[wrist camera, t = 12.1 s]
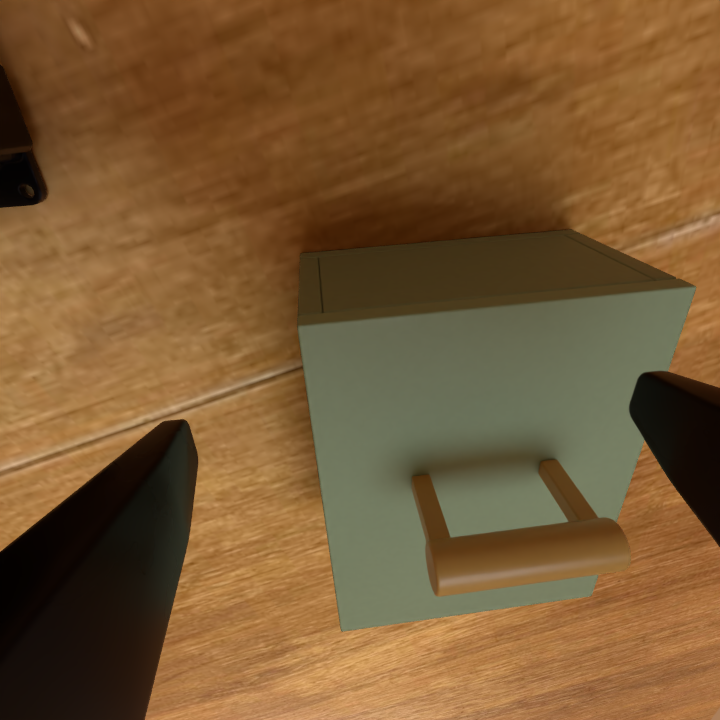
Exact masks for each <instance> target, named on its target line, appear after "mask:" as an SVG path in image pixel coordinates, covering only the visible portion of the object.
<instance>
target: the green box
mask: <svg viewBox="0 0 720 720" xmlns="http://www.w3.org/2000/svg"><path fill="white" fill-rule="evenodd" d="M670 279H676V277H674V276H672V275H670V274H667V273H665V272H663V271H661V270H659V269H657V268H654V267H652V266H650V265H648V264H646V263H643V262H641V261H639V260H637V259H635V258H633V257H630V256H628V255H626V254H624V253H622V252H619V251H617V250H615V249H613V248H611V247H609V246H606V245H604V244H602V243H600V242H598V241H595V240H593V239H591V238H589V237H587V236H584V235H582V234H580V233H578V232H576V231H574V230H572V229H569V230H558V231H547V232H536V233H524V234H513V235H502V236H490V237H479V238H468V239H457V240H445V241H434V242H423V243H412V244H400V245H389V246H378V247H366V248H355V249H344V250H333V251H321V252H310V253H301V254H300V269H299V294H298V316H301V315H311V314H321V313H331V312H342V311H352V310H362V309H372V308H383V307H393V306H403V305H413V304H424V303H434V302H444V301H455V300H465V299H475V298H485V297H496V296H506V295H516V294H526V293H537V292H547V291H557V290H567V289H578V288H588V287H598V286H608V285H619V284H629V283H639V282H650V281H660V280H670Z"/></svg>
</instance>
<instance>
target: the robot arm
mask: <svg viewBox="0 0 720 720" xmlns="http://www.w3.org/2000/svg"><path fill="white" fill-rule="evenodd" d="M32 144H33V143H32V140H31V138H30V135H29V132H28V130H27V127H26V125H25V122H24V120H23V117H22V114H21V112H20V109H19V107H18V104H17V101H16V99H15V96H14V94H13V91H12V88H11V86H10V83H9V81H8V78H7V75H6V73H5V70H4V68H3V67H2V66H1V65H0V208H2V207H14V206H27V205H34V204H38V203H40V202H43V201H44V200H45V199H46V196H47V192H46V188H45V185H44V183H43V180H42V177H41V175H40V172H39V170H38V167H37V165H36V162H35V160H34V157H33V154H32V152H31V147H32ZM26 185H29V186H30V187H32V189H33V190H34V194H35V195H34V196H31V195H29V194H28V193H27V192H26V189H25V186H26ZM629 413H630V416H631V418H632V420H633V422H634V423H635V425H636V426H637V428H638V430H639V431H640V433H641V435H642V436H643V438H644V440H645V441H646V443H647V444H648V446H649V448H650V449H651V451H652V453H653V454H654V456H655V458H656V459H657V461H658V462H659V464H660V466H661V467H662V469H663V471H664V472H665V474H666V475H667V477H668V478H669V480H670V481H671V483H672V484H673V485H674V487H675V488H676V490H677V491H678V492H679V494H680V495H681V496H682V498H683V499H684V500H685V502H686V503H687V504H688V506H689V507H690V508H691V510H692V511H693V512H694V513H695V515H696V516H697V517H698V519H699V520H700V521H701V523H702V524H703V525H704V527H705V528H706V529H707V531H708V532H709V533H710V535H711V536H712V537H713V539H714V540H715V541H716V543H717V544H718V545H719V547H720V388H718V387H715V386H712V385H709V384H705V383H702V382H699V381H696V380H693V379H690V378H686V377H683V376H680V375H677V374H674V373H670V372H667V371H661V370H660V371H651V372H644V373H642V374H641V375H640V376H639V377H638V379H637V382H636V385H635V388H634V391H633V394H632V397H631V400H630V404H629ZM197 469H198V454H197V450H196V447H195V443H194V440H193V436H192V433H191V430H190V426H189V424H188V422H187V421H186V420H184V419H180V420H170V421H164V422H162V423H160V424H159V425H158V426H156V427H155V428H154V429H153V430H151V431H150V432H149V433H148V434H146V435H145V436H144V437H143V438H141V439H140V440H139V441H138V442H137V443H135V444H134V445H133V446H132V447H130V448H129V449H128V450H127V451H125V452H124V453H123V454H122V455H120V456H119V457H118V458H117V459H115V460H114V461H113V462H112V463H110V464H109V465H108V466H107V467H105V468H104V469H103V470H102V471H100V472H99V473H98V474H97V475H95V476H94V477H93V478H92V479H90V480H89V481H88V482H87V483H85V484H84V485H83V486H82V487H80V488H79V489H78V490H77V491H75V492H74V493H73V494H72V495H70V496H69V497H68V498H67V499H65V500H64V501H63V502H62V503H61V504H59V505H58V506H57V507H56V508H54V509H53V510H52V511H51V512H49V513H48V514H47V515H46V516H44V517H43V518H42V519H41V520H39V521H38V522H37V523H36V524H34V525H33V526H32V527H31V528H29V529H28V530H27V531H26V532H24V533H23V534H22V535H21V536H19V537H18V538H17V539H16V540H14V541H13V542H12V543H11V544H9V545H8V546H7V547H6V548H4V549H3V550H2V551H1V552H0V720H145V716H146V712H147V708H148V704H149V700H150V696H151V692H152V688H153V684H154V680H155V676H156V671H157V667H158V663H159V659H160V655H161V651H162V647H163V643H164V639H165V635H166V631H167V627H168V623H169V619H170V615H171V610H172V606H173V602H174V598H175V594H176V590H177V586H178V582H179V578H180V574H181V570H182V566H183V562H184V558H185V554H186V549H187V545H188V540H189V534H190V527H191V519H192V511H193V502H194V494H195V486H196V478H197Z"/></svg>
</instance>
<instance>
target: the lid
mask: <svg viewBox="0 0 720 720" xmlns="http://www.w3.org/2000/svg"><path fill="white" fill-rule="evenodd" d="M695 290H696V286H694V285H692V284H690V283H688V282H686V281H683V280H681V279H670V280H660V281H650V282H639V283H629V284H619V285H608V286H598V287H588V288H578V289H567V290H557V291H547V292H537V293H526V294H516V295H506V296H496V297H485V298H475V299H465V300H455V301H444V302H434V303H424V304H413V305H403V306H393V307H383V308H372V309H362V310H352V311H342V312H331V313H321V314H311V315H301V316H298V318H297V330H298V337H299V344H300V351H301V357H302V364H303V371H304V378H305V385H306V392H307V399H308V406H309V413H310V420H311V427H312V434H313V441H314V447H315V454H316V461H317V468H318V475H319V482H320V489H321V496H322V503H323V510H324V517H325V524H326V531H327V538H328V544H329V551H330V558H331V565H332V572H333V579H334V586H335V593H336V600H337V607H338V614H339V621H340V628H341V631H342V632H343V631H350V630H357V629H364V628H371V627H378V626H385V625H392V624H399V623H406V622H413V621H420V620H427V619H434V618H441V617H448V616H455V615H462V614H469V613H476V612H483V611H490V610H497V609H504V608H511V607H518V606H525V605H532V604H539V603H546V602H553V601H560V600H567V599H574V598H581V597H588V596H591V595H592V593H593V590H594V587H595V584H596V581H597V578H598V575H599V574H606V573H613V572H620V571H625V570H626V569H627V568H628V567H629V566H630V563H631V551H630V547H629V543H628V540H627V538H626V536H625V534H624V532H623V530H622V529H621V527H620V526H619V525H618V524H617V523H616V522H617V519H618V516H619V513H620V510H621V508H622V505H623V502H624V499H625V496H626V493H627V490H628V487H629V484H630V481H631V478H632V475H633V472H634V469H635V466H636V463H637V461H638V458H639V455H640V452H641V449H642V446H643V443H644V438H643V436H642V435H641V433H640V431H639V430H638V428H637V426H636V425H635V423H634V422H633V420H632V418H631V416H630V413H629V404H630V400H631V397H632V394H633V391H634V388H635V385H636V382H637V379H638V377H639V376H640V375H641V374H642V373H644V372H651V371H660V370H661V371H667V372H668V370H669V367H670V364H671V361H672V358H673V355H674V352H675V349H676V346H677V343H678V340H679V337H680V334H681V331H682V328H683V325H684V323H685V320H686V317H687V314H688V311H689V308H690V305H691V302H692V299H693V296H694V293H695Z"/></svg>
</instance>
